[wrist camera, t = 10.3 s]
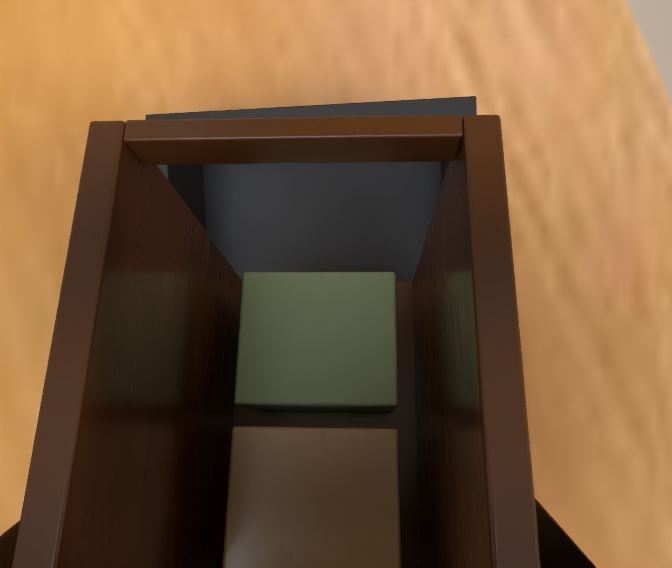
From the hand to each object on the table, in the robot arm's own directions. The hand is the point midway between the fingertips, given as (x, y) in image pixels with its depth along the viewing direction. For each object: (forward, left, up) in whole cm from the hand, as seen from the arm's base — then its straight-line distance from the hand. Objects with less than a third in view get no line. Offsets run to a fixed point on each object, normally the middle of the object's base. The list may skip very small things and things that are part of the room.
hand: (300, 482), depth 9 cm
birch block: (-2, +2, -5) cm, 6 cm away
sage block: (+1, -1, -7) cm, 7 cm away
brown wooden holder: (-1, +1, -7) cm, 7 cm away
